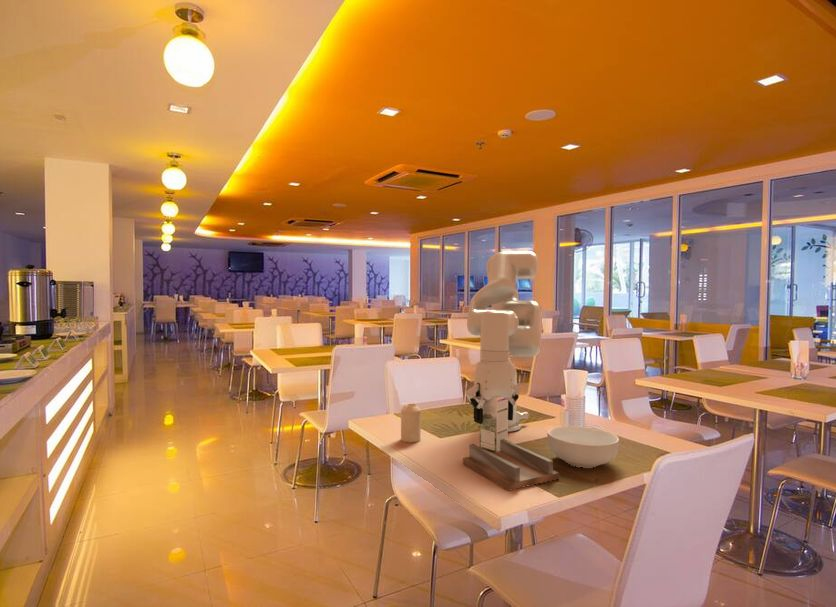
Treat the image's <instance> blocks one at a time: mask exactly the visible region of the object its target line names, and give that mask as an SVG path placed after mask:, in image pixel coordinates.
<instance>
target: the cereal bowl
mask: <svg viewBox="0 0 836 607" xmlns="http://www.w3.org/2000/svg"><path fill="white" fill-rule="evenodd" d="M547 444H548V447H549V449H550V452H551V453H552V454H553V455H555V457H557V458H558V459H561V460H563V461H564V462H565V463H566V464H567V463H568V464H567V465H569V464H570V466H571V467H575V466H576V468H580V467H583V468H582V469H593V467H594V468H597V467H598V466H601V465H605V464H607V463H610V462H611V461H613V460H614V459H615V458H616V456H617V454H618V453H619V448H620V439H619V437H618V436H617V435H616V434H614V433H612V432H609V431H607V430H603V429H599V428H593V427H588V426H587V427H585V426H558V427H552V428H549V430H548V431H547ZM596 466H597V467H596Z"/></svg>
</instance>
